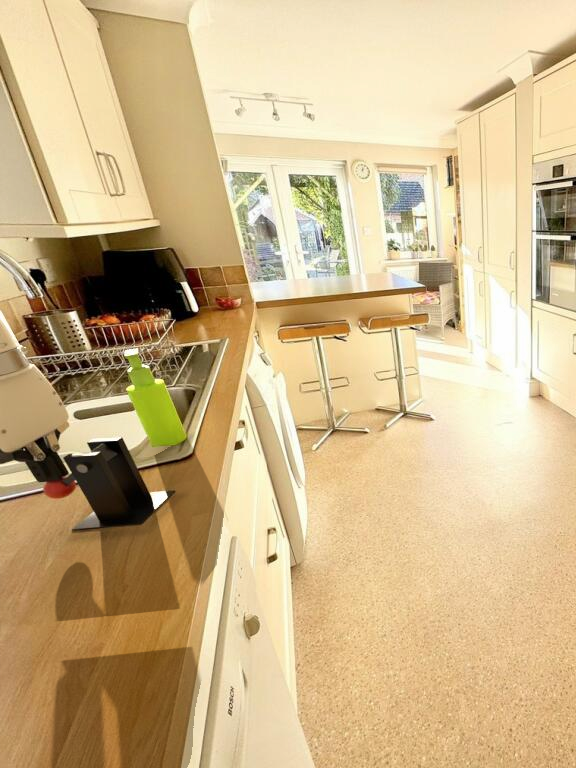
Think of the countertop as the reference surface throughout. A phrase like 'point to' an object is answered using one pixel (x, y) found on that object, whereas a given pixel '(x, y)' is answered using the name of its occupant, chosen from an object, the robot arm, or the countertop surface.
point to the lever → (72, 477)
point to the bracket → (113, 487)
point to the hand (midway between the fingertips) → (54, 478)
